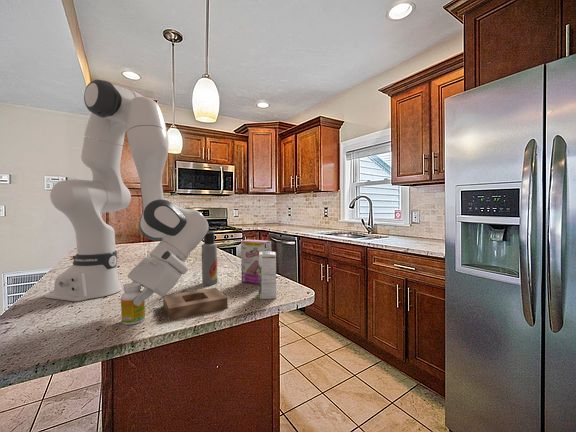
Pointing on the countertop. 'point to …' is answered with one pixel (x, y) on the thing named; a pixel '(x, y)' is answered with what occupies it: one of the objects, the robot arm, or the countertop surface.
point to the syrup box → (267, 275)
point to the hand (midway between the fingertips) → (130, 301)
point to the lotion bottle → (209, 260)
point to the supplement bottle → (132, 305)
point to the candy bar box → (252, 258)
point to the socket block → (194, 302)
